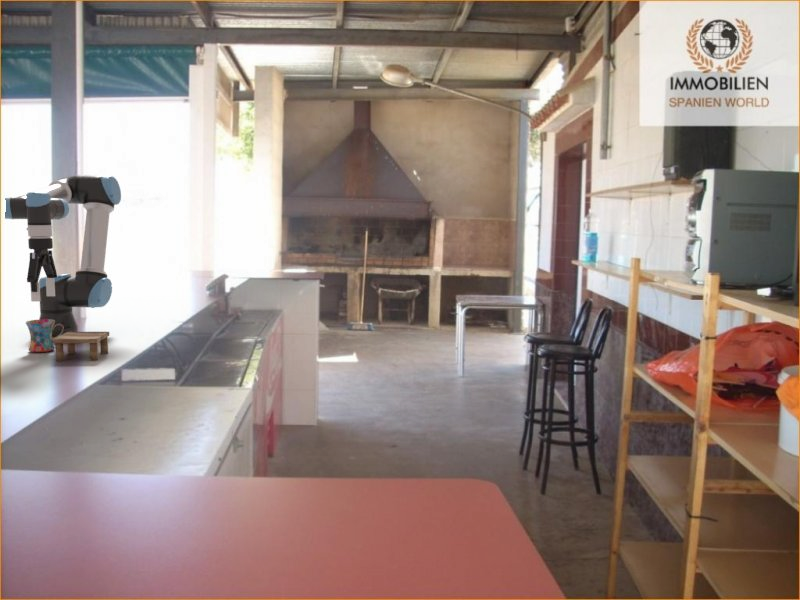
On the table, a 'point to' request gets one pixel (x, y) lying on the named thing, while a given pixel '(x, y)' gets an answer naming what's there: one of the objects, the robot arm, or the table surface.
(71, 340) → the stool
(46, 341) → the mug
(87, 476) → the table surface
